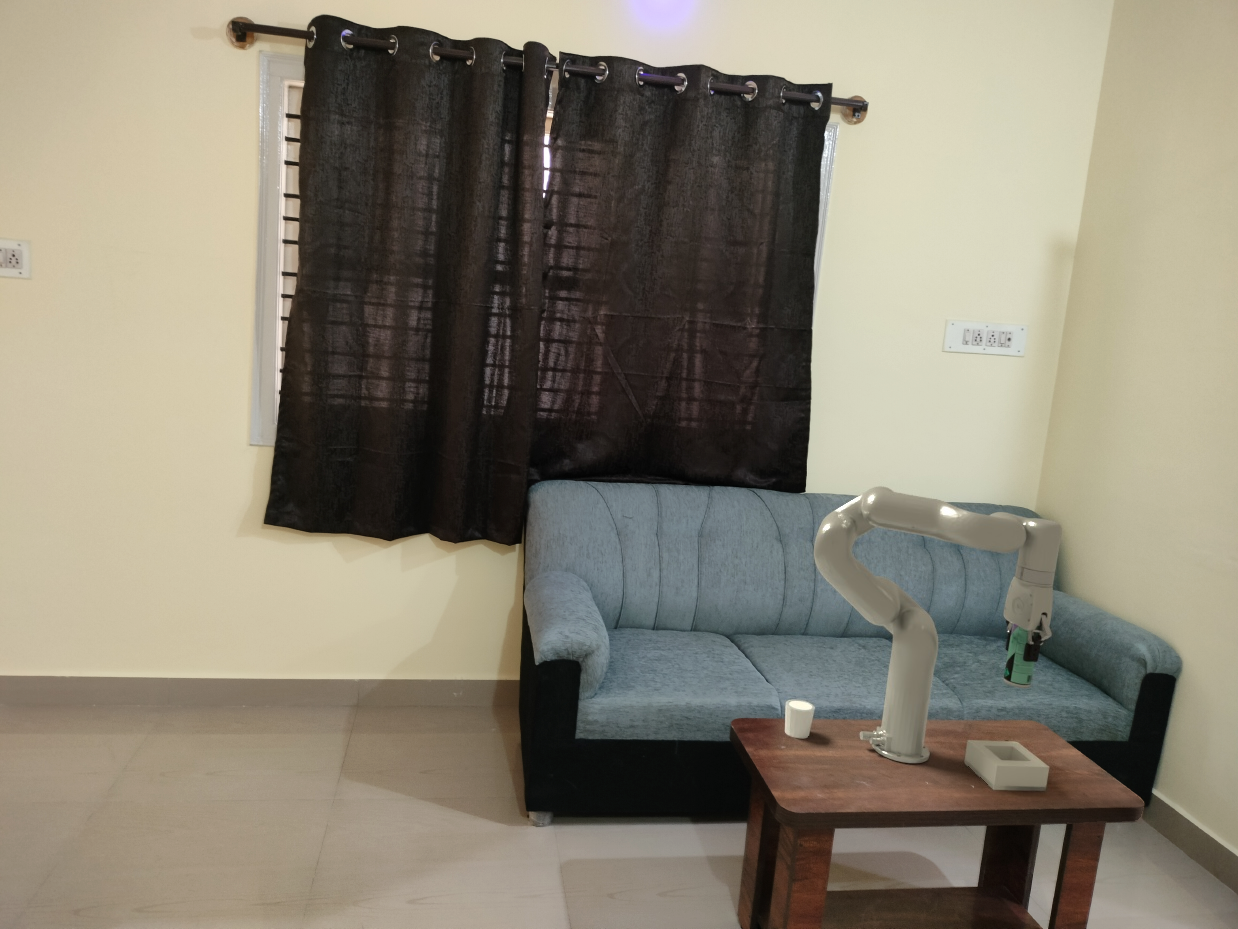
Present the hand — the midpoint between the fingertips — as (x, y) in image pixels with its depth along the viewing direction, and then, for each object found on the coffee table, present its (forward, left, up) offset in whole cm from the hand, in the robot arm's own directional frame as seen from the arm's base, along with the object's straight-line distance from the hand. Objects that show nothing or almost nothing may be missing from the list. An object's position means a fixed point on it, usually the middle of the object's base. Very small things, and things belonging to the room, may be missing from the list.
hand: (1021, 655), depth 188 cm
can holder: (-1, -2, -27) cm, 27 cm away
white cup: (-42, +17, -27) cm, 53 cm away
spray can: (0, 0, -7) cm, 7 cm away
